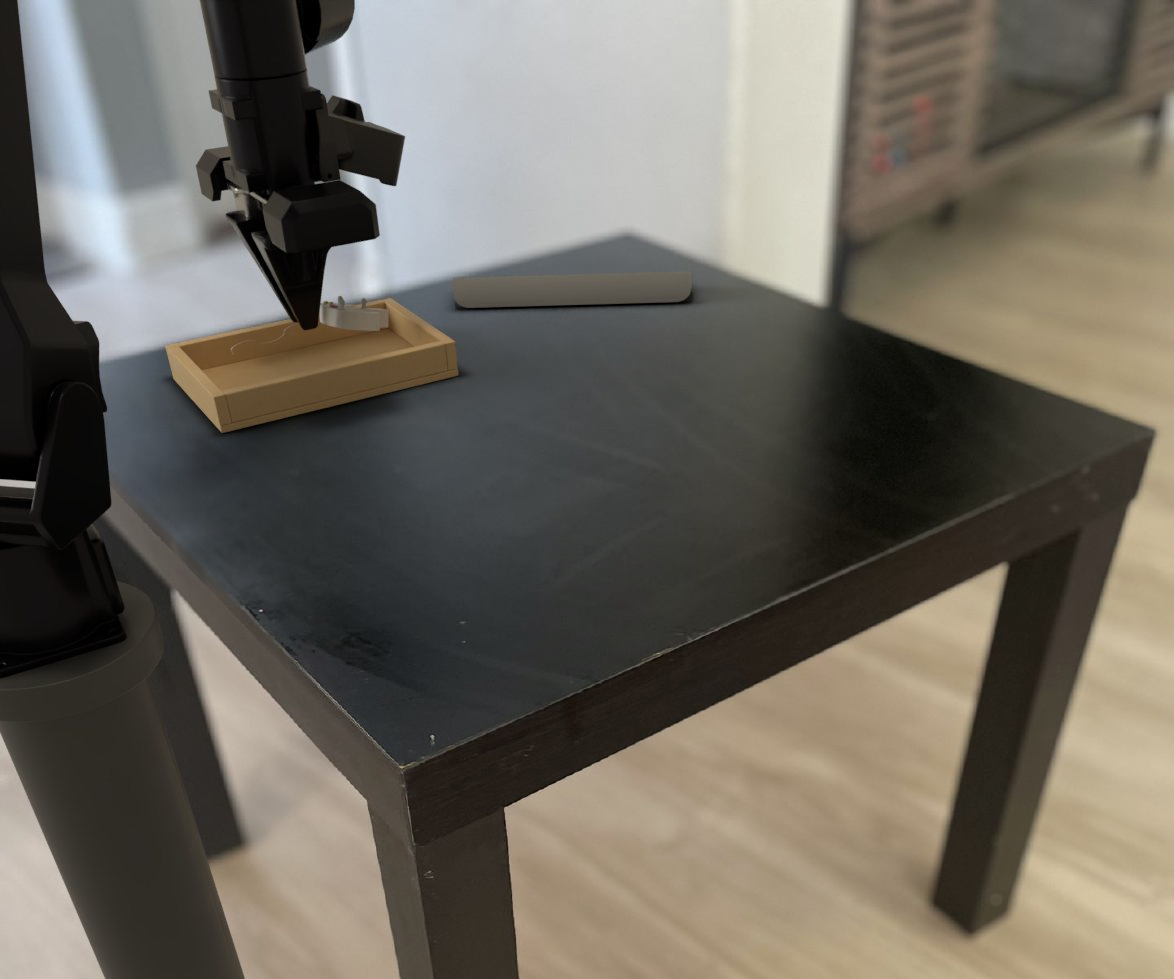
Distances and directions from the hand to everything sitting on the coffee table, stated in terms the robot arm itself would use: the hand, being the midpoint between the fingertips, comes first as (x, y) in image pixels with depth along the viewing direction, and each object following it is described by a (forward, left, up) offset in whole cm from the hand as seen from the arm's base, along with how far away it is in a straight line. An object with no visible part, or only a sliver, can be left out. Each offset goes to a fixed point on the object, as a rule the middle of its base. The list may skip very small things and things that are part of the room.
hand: (305, 324), depth 86 cm
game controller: (0, 0, -1) cm, 1 cm away
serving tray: (0, 0, -4) cm, 4 cm away
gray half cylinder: (+24, +4, -4) cm, 25 cm away
